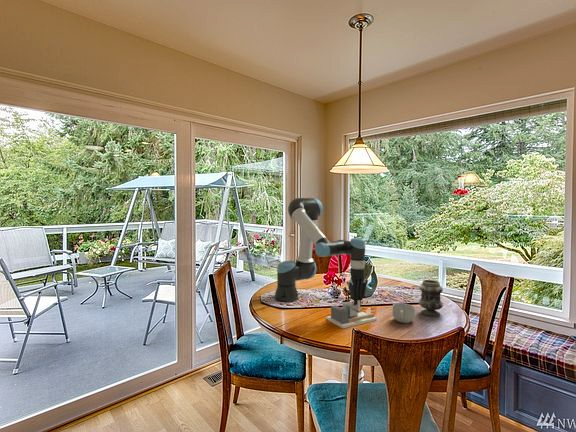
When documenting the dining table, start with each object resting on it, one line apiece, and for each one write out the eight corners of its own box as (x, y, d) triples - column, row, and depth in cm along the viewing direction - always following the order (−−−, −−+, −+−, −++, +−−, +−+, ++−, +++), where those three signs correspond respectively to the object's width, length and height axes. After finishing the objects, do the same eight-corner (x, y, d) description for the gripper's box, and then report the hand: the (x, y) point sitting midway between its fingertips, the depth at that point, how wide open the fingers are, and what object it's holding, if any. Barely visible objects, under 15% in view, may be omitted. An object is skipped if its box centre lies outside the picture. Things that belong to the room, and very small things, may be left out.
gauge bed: (326, 318, 162) (326, 305, 161) (358, 311, 172) (358, 299, 172) (343, 328, 149) (343, 313, 149) (376, 320, 160) (376, 306, 160)
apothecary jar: (440, 310, 173) (440, 279, 173) (444, 318, 162) (445, 284, 161) (417, 308, 177) (417, 277, 176) (420, 316, 165) (420, 283, 164)
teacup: (396, 315, 166) (397, 301, 166) (417, 320, 159) (417, 305, 159) (386, 323, 156) (387, 307, 155) (408, 329, 149) (409, 312, 148)
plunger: (342, 316, 162) (342, 302, 161) (350, 314, 164) (350, 301, 164) (355, 322, 153) (355, 308, 152) (363, 320, 155) (363, 307, 155)
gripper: (352, 270, 155) (352, 316, 156) (372, 267, 161) (371, 312, 162) (343, 267, 162) (343, 311, 163) (362, 265, 168) (361, 307, 169)
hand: (357, 311), depth 163 cm, fingers closed
